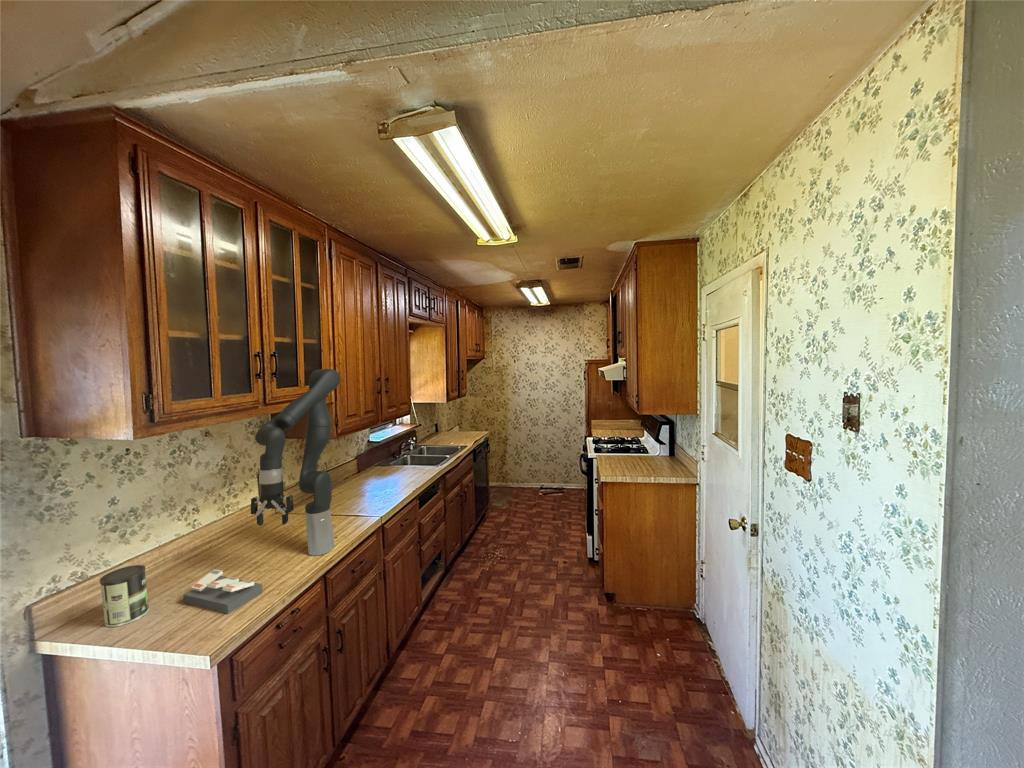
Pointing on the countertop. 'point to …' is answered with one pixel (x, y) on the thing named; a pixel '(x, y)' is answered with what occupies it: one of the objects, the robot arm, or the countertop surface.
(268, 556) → the countertop surface
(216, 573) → the rocker
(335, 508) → the countertop surface
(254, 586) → the rocker switch panel
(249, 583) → the rocker
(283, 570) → the countertop surface
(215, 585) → the rocker
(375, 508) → the countertop surface
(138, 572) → the coffee can
